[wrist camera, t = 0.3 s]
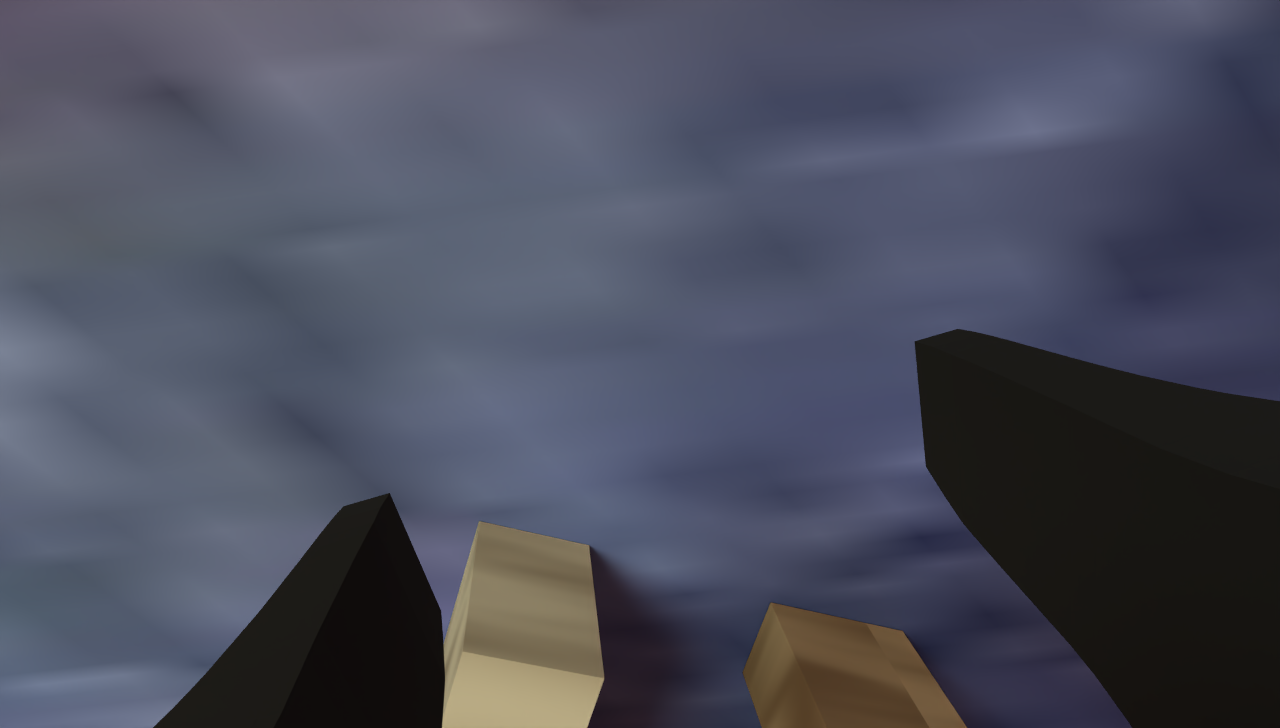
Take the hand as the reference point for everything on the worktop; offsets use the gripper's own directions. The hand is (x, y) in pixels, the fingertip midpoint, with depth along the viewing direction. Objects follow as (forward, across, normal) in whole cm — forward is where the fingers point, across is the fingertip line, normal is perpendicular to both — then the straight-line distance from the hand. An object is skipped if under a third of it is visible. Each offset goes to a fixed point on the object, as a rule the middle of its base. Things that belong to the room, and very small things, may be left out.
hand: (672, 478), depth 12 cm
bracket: (+8, -1, +16) cm, 18 cm away
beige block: (+9, +6, +11) cm, 16 cm away
